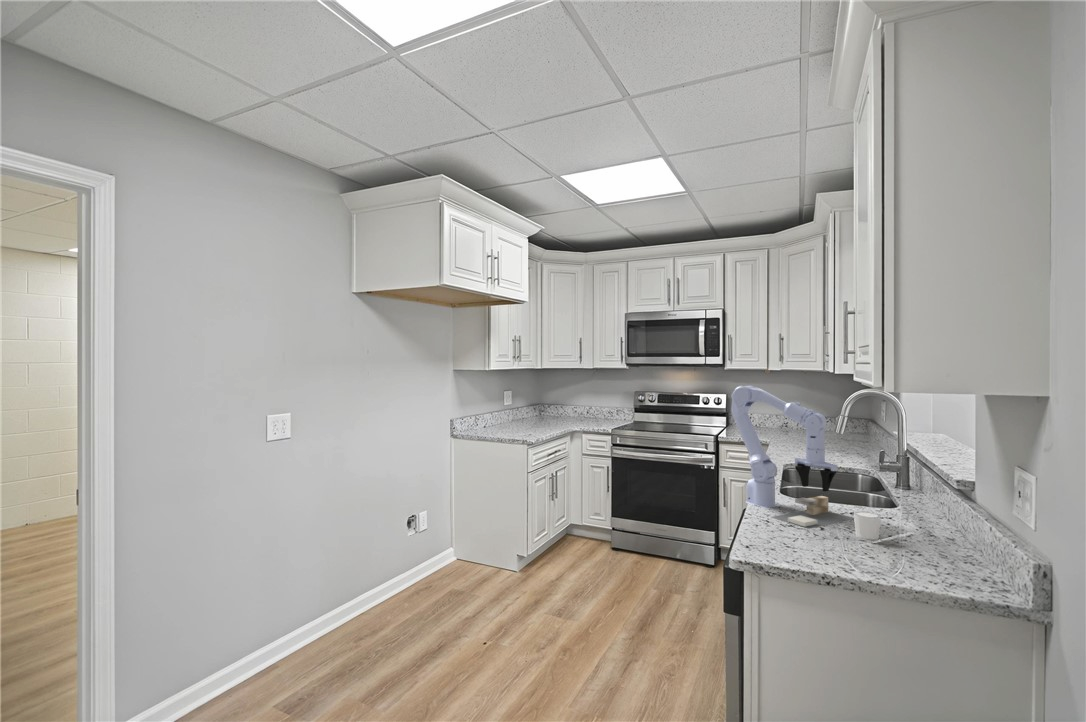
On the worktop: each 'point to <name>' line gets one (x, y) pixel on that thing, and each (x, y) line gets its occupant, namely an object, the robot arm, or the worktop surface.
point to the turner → (814, 504)
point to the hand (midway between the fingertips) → (815, 488)
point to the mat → (816, 518)
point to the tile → (802, 521)
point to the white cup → (867, 525)
